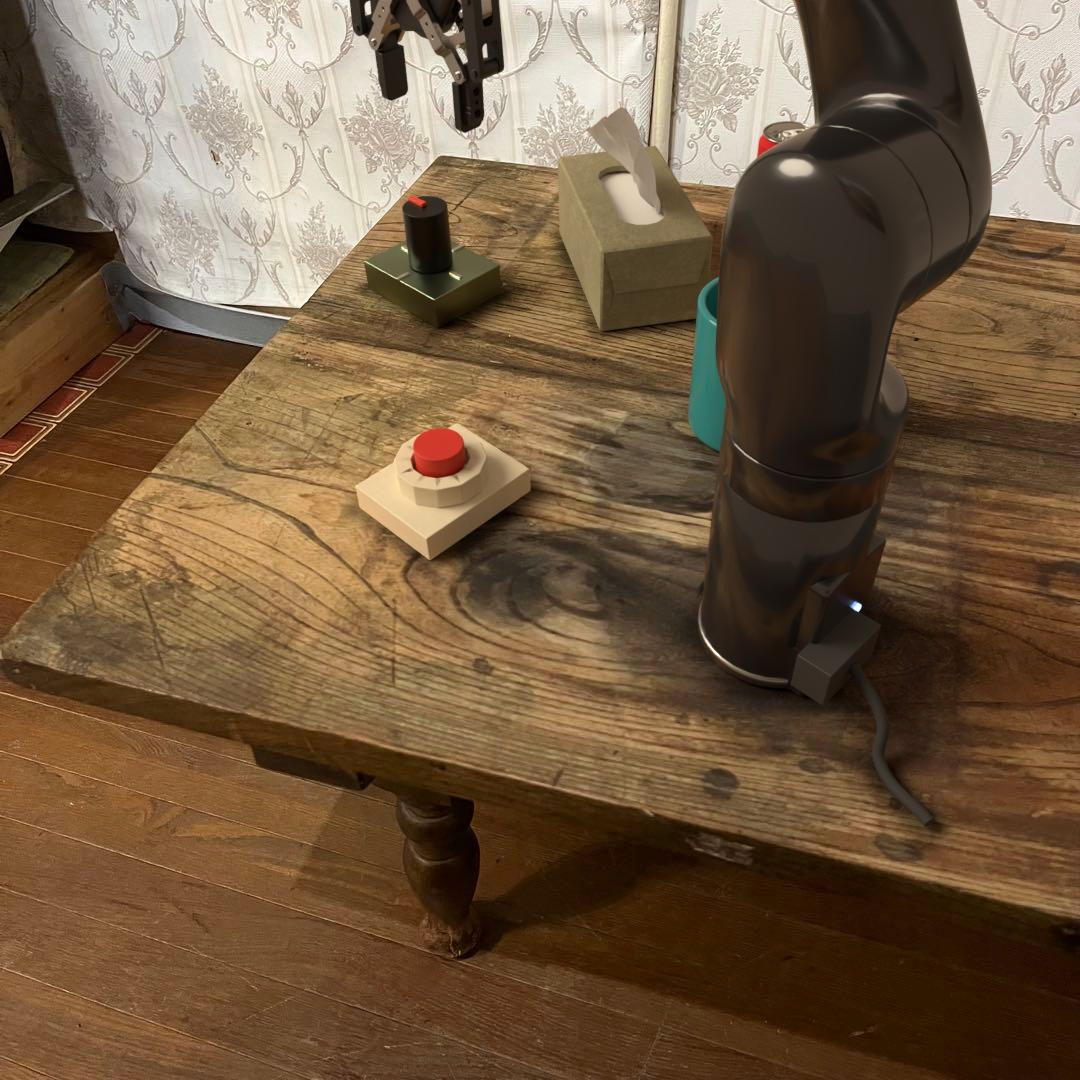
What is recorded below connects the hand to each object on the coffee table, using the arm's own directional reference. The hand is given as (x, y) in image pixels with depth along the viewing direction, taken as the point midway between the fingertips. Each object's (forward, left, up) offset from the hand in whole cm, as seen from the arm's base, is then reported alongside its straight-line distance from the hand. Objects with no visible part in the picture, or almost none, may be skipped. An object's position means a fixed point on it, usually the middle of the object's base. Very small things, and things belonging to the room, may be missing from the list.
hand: (431, 112), depth 81 cm
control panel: (+5, -2, -19) cm, 20 cm away
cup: (-30, -4, -19) cm, 35 cm away
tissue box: (-7, -16, -19) cm, 26 cm away
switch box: (-18, +17, -19) cm, 31 cm away
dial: (+5, -2, -16) cm, 17 cm away
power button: (-18, +17, -15) cm, 29 cm away
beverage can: (-15, -28, -19) cm, 37 cm away
